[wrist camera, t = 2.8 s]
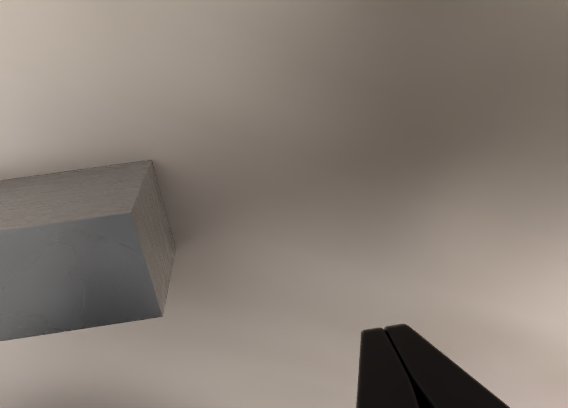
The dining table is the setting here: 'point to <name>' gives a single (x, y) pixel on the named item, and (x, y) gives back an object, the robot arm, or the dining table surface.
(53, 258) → the long grey bar
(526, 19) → the dining table surface
